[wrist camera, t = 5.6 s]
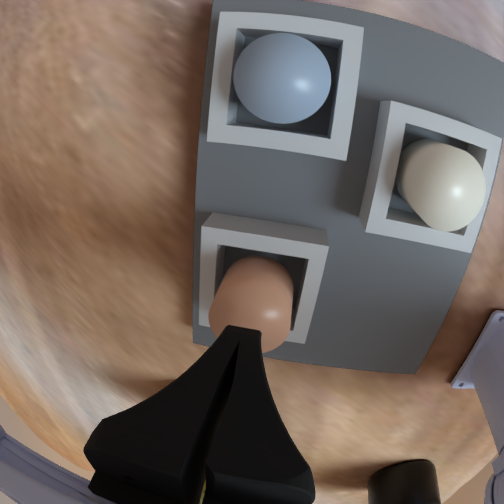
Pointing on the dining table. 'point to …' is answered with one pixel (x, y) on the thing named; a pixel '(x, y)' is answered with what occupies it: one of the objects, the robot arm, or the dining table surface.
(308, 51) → the slate-blue button
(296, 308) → the button panel
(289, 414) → the dining table surface
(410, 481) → the ink bottle
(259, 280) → the terracotta button
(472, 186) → the cream button
